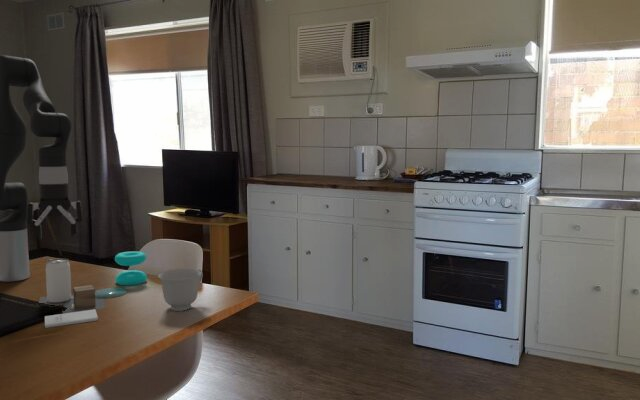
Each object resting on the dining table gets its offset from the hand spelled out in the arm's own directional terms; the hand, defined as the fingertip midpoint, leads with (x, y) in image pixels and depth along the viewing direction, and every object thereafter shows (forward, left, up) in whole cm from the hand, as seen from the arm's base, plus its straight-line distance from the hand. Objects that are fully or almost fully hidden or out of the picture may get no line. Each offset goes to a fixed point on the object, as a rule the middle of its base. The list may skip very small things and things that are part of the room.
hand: (56, 237), depth 151 cm
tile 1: (0, 0, -19) cm, 19 cm away
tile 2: (+8, +7, -19) cm, 22 cm away
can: (0, 0, -19) cm, 19 cm away
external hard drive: (+20, +4, -20) cm, 29 cm away
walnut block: (+8, +7, -19) cm, 22 cm away
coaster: (-2, +14, -19) cm, 24 cm away
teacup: (+20, +33, -19) cm, 43 cm away
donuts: (-14, +21, -20) cm, 32 cm away
